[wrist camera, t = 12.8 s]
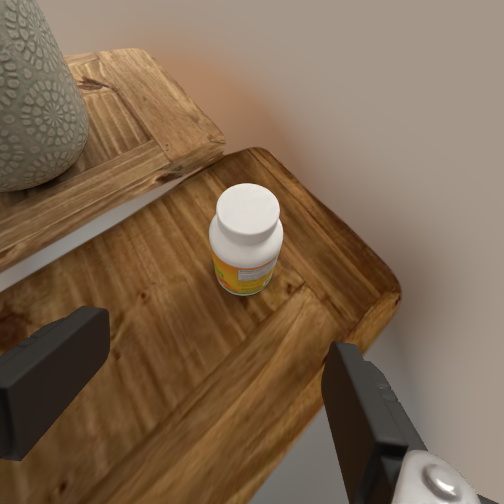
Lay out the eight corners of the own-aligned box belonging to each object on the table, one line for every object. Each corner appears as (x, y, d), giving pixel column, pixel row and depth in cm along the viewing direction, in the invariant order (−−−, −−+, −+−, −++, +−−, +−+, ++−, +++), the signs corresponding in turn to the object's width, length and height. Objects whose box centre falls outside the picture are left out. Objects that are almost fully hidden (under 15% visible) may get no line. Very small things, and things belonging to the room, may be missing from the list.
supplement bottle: (210, 251, 25) (197, 181, 17) (263, 240, 26) (275, 168, 18) (222, 303, 23) (213, 253, 14) (279, 289, 24) (303, 234, 15)
